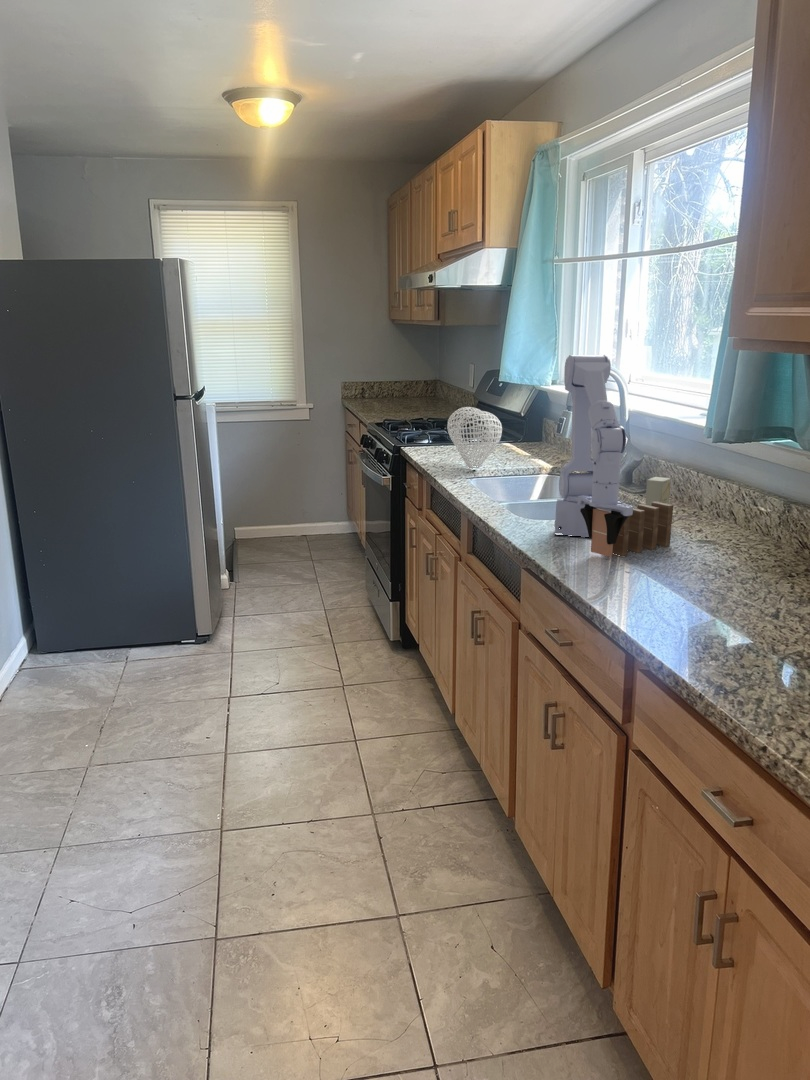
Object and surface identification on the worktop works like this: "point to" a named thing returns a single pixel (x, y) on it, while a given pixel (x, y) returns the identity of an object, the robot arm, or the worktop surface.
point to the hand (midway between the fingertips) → (602, 540)
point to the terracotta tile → (600, 533)
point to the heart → (458, 438)
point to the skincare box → (657, 490)
